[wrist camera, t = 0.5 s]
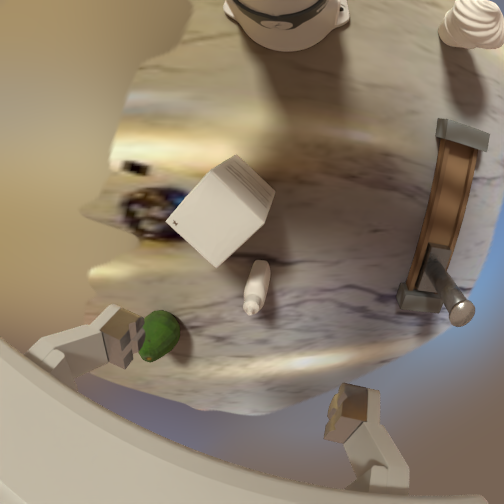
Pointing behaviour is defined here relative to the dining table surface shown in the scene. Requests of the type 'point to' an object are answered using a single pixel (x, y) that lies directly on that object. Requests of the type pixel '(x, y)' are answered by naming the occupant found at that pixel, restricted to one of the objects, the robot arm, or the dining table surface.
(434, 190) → the rail
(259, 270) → the eye dropper bottle
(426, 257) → the carriage
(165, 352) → the avocado
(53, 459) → the robot arm
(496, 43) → the soft serve ice cream cone
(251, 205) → the supplement box
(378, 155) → the dining table surface
